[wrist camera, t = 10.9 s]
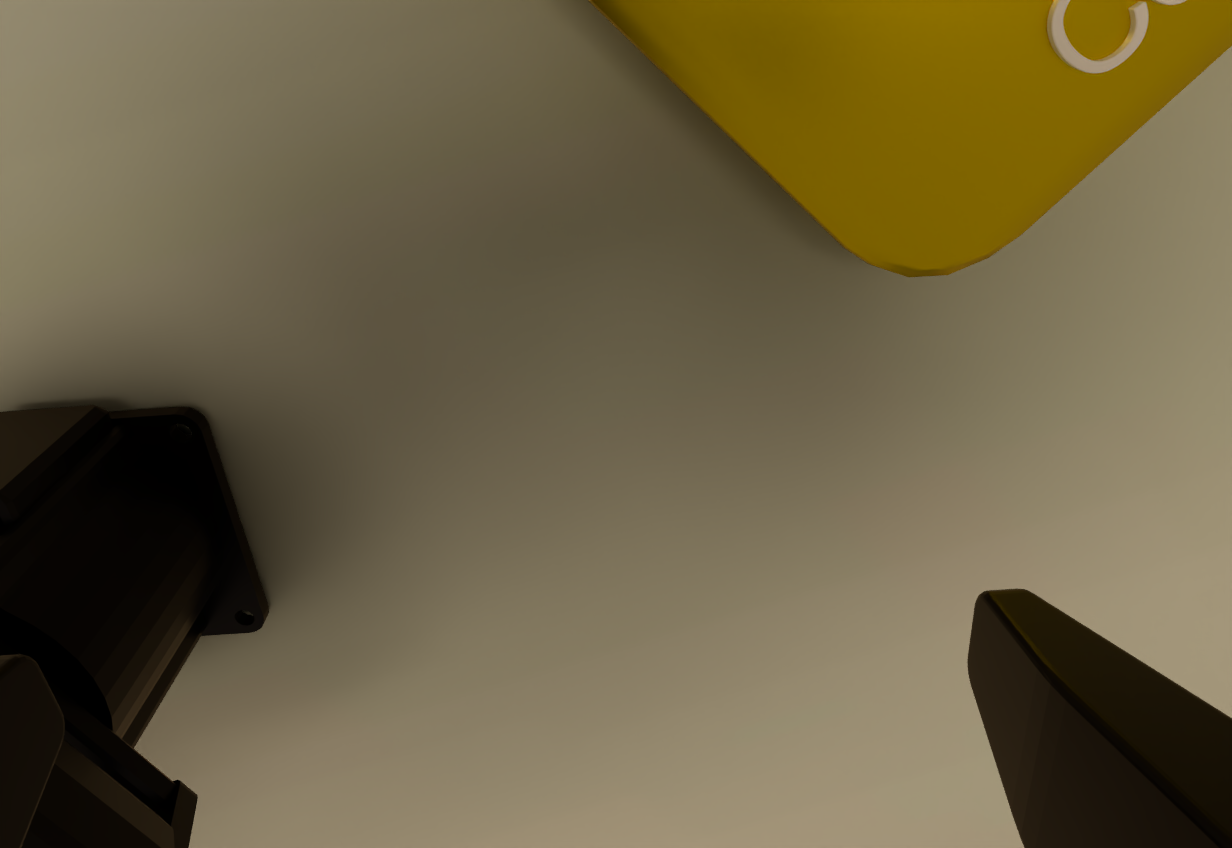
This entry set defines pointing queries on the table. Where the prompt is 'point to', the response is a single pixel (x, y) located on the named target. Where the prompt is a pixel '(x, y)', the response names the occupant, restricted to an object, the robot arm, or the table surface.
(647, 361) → the table surface
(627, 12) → the element tile
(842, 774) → the table surface
